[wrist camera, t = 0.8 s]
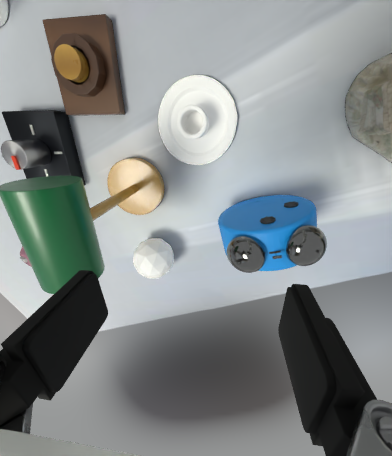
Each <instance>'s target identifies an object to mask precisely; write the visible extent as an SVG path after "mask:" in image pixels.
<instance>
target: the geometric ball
mask: <svg viewBox="0 0 392 456" xmlns="http://www.w3.org/2000/svg"><path fill="white" fill-rule="evenodd" d="M133 264H134V266H135V268H136V269H137V271H138V273H139V274H141V275H142V276H144V277H146V278H161V277H162V276H163V275H165V274H166V273H167V272H168V271H170V269H171V268H172V266H173V264H174V253H173V251H172V248H171V246H170V245H169V244H168V243H166V242H165V241H164V240H162V239H161V238H150V239H148V240H145V241H143V242H141V243H140V244H139V245H138V247H137V248H136V250H135V251H134V255H133Z"/></svg>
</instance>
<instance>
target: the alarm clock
mask: <svg viewBox="0 0 392 456" xmlns="http://www.w3.org/2000/svg"><path fill="white" fill-rule="evenodd" d="M218 224H219V228H220V232H221V236H222V241H223V245H224V249H225V253H226V255H227V257H228V260H229V262H230V263H231V264H232V265H233V266H234V267H235V268H236V269H238V270H240V271H242V272H246V273H251V272H256V271H275V270H282V269H287V268H291V267H294V266H296V265H299V266H308V265H312V264H314V263H316V262H317V261H319V260H320V259H321V258H322V256H323V255H324V253H325V251H326V248H327V240H326V237H325V235H324V233H323V232H322V231H321V230H320V229H319V228H317V214H316V206H315V205H314V204H313V203H312V202H311V201H310V200H308V199H305V198H303V197H299V196H292V195H271V196H263V197H258V198H253V199H249V200H246V201H243V202H240V203H237V204H235V205H233V206H231V207H229V208H228V209H226V210H225V211H224V212H223V213H222V214H221V215H220V217H219V220H218Z"/></svg>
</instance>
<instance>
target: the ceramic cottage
mask: <svg viewBox="0 0 392 456" xmlns="http://www.w3.org/2000/svg"><path fill="white" fill-rule="evenodd" d="M348 91H349V92H348V94H347V95H346V101H345V108H346V109H345V114H346V115H345V117H346V121H347V123H348V126H349V129H350V131H351V134H352V136H353V137H354V138H356V139H357V140H359V141H360V142H361V143H363V144H365V145H366V146H368V147H369V148H371V149H372V150H374V151H376V153H378V154H380V155H382V156H383V157H385V158H386V159H387V160H388V161H391V162H392V53H391V54H389V55H387V56H385V57H383V58H381V59H378V60H376V61H374V62H373V63H371V64H369V65H368V66H367V67H366V68H365V69H364V70H363V71H362V72H360V73H359V75H358V76H357V77H356V79H355V80H354V82H353V83H352V85H351V87H350V89H349V90H348Z"/></svg>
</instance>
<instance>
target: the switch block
mask: <svg viewBox="0 0 392 456" xmlns="http://www.w3.org/2000/svg"><path fill="white" fill-rule="evenodd" d="M43 24H44V28H45V32H46V36H47V40H48V44H49V48H50V52H51V56H52V59H51V60H52V64H53V67H54V71H55V75H56V76H57V79H58V83H59V87H60V91H61V95H62V99H63V103H64V107H65V111H66V114H67V115H74V116H75V115H124V114H125V110H124V103H123V96H122V89H121V82H120V75H119V68H118V60H117V53H116V46H115V39H114V32H113V25H112V20H111V19H110V18H109V17H108V16H107V15H106V14H102V15H91V16H79V17H68V18H57V19H46V20H43ZM62 44H67V45H70V46H71V47H73V48H75V49H77V50H79V51H80V52H81V53H82V54H83V55H84V56H85V57H86V59H87V61H88V65H89V75H88V78H87V79H86V80H85V81H84V82H81V83H78V82H75V81H72V80H69V79H66V78H65V77H63V76H62V75H61V74H60V73H59V71H58V70H57V68H56V65H55V61H54V54H55V50H56V48H57V47H58V46H59V45H62Z"/></svg>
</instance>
